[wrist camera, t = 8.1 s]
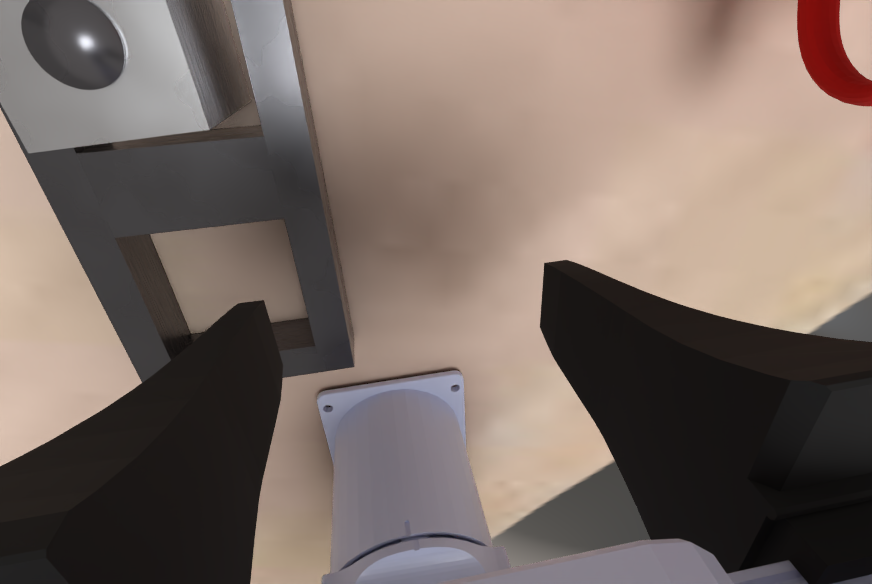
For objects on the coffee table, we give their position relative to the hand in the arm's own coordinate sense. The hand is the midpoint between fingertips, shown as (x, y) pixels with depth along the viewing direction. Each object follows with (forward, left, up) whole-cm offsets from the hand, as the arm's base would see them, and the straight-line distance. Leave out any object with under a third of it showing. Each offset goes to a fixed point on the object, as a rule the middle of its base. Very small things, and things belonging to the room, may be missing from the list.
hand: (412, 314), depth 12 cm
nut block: (+7, +7, -10) cm, 13 cm away
